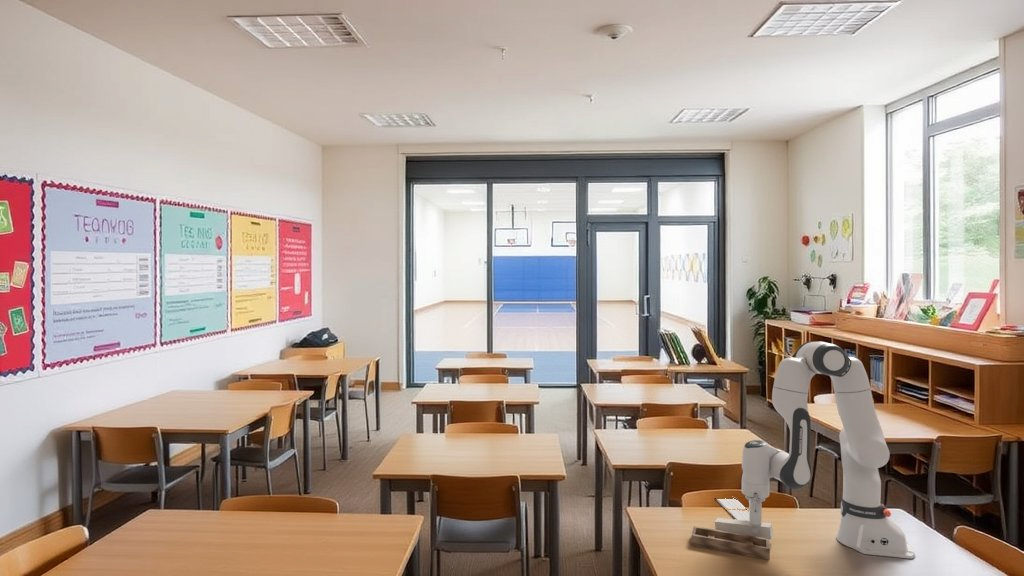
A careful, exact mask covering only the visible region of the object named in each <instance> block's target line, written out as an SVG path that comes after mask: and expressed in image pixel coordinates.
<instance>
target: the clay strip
mask: <svg viewBox="0 0 1024 576" xmlns="http://www.w3.org/2000/svg"><path fill="white" fill-rule="evenodd" d="M772 524H773V523H772V522H764V521H762V523H761V526H758V533H753V532H752V525H750V522H749V521H744V520H735V519H734V518H724V517H723V518H722V517H717V518H716V519H715V521H714V527H715V529H714V530H720V531H726V532H732V533H737V534H743V535H749V536H755V537H761V538H767V539H769V540H772V539H773V535H774V533H773V525H772Z"/></svg>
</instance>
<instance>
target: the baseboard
mask: <svg viewBox="0 0 1024 576" xmlns="http://www.w3.org/2000/svg"><path fill="white" fill-rule="evenodd" d="M734 498H735V497H734ZM734 498H733V499H726V498H725V499H717V500H716V502H717V503H718V504H719V505H720V506H721V507H722V508H723V509H724V508H728V509H731V510H728V511H729V512H730V514H731V515H732V516H733V517H734V518H735V519H736V520H744V521H749V512H748V511H747V510H748V509H747V510H745V511H742V510H740V511H739V510H737V508H738V509H745V508H746V507H745V505H743V504H742V503H741V502H740V501H739V499H737V498H736V499H737V500H736V499H734ZM732 509H736V510H732ZM730 514H729V515H730ZM731 515H730V516H731ZM732 516H731V517H732ZM733 517H732V518H733ZM734 518H733V519H734Z"/></svg>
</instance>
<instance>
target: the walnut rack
mask: <svg viewBox="0 0 1024 576" xmlns="http://www.w3.org/2000/svg"><path fill="white" fill-rule="evenodd" d="M690 537H691V538H690V539H691V540H690V541H691V543H690V546H691V547H698V548H704V549H708V550H715V551H719V552H723V553H729V552H730V554H736V555H740V554H741V555H742V556H747V557H750V558H757V559H763V560H767V561H769V560H770V559H771V558H770V556H771V555H770V553H771V549H770V548H771V546H770V545H771V544H770V543H771V542H770V539H767V538H761V537H755V536H749V535H743V534H737V533H732V532H726V531H720V530H716V529H712V528H707V527H700V526H695V525H693V528H692V531H691V536H690Z"/></svg>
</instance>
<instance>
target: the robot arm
mask: <svg viewBox="0 0 1024 576" xmlns="http://www.w3.org/2000/svg"><path fill="white" fill-rule="evenodd" d="M816 374H818V375H824V376H828V377H830V379H831V382H832V387H833V393H834V399H835V403H836V408H837V412H838V416H839V418H840V421H841V423H842V425H843V426H842V429H841V430H840V432H839V434H838V435H839V436H838V438H839V444H840V456H841V457H840V459H841V466H842V472H843V473H842V475H843V477H842V479H843V485H842V497H841V501H840V515H841V518H840V524H839V528H838V531H837V534H836V536H835V538H836V540H837V541H838V542H840V544H842V545H844V546H846V547H848V548H851V549H853V550H855V551H857V552H859V553H861V554H864V555H870V556H871V555H872V556H881V557H882V556H883V557H890V558H891V557H892V558H899V559H900V558H902V559H914V558H915V556H916V554H915V550H914V548H913V547H912V545H911V544H910V543H909V542H908V541H907V538H906V534H905V532H904V531H903V529H902V528H901V526H899V525H898V524H897V523H895V522H894V521H893V520H892V519H891V518H890V517H891V516H892V513H891V510H889V509H888V508H887V507H886V505H884V504H883V503H881V495H882V493H881V492H882V480H881V477H880V472H879V468H882V467H884V466H885V465H886V464H887V463H888V462H889V461H890V455H891V452H890V450H889V447H888V445H887V442H886V439H885V435H884V432H883V429H882V425H881V423H880V421H879V419H878V415H877V412H876V408H875V403H874V398H873V393H872V389H871V383H870V381H869V376H868V373H867V371H866V369H865V367H864V364H863V362H862V361H861V360H860V359H859V358H856V357H853V356H849V355H848V354H847V353H846V351H845V350H844V349H843V348H841V347H840V346H838V345H837V344H834V343H829V342H825V341H813V340H812V341H805V342H804V343H802V344H800V346H798V347H797V348H796V350H795V353H794V354H792V356H791V357H785V358H783V359H782V360H780V362H779V364H778V366H777V369H776V373H775V376H774V381H773V386H772V392H771V401H772V402H771V403H772V405H773V407H774V409H775V410H776V412H777V413H778V414H779V415H781V417H782V419H784V421H785V422H786V424H787V426H788V428H789V448H788V449H789V451H788V452H786V451H785V450H782V449H780V448H777V447H774V446H771V445H770V444H768V442H767V441H764V440H761V439H758V440H757V439H754V440H750V441H747V442H745V444H744V446H743V448H742V454H741V469H742V476H741V493H742V495H744V496H745V499H746V500H748V504H749V505H748V510H749V522H750V525H752V532H753V533H758V526H761V523H762V522H763V521H762V519H763V518H762V517H763V515H762V513H763V512H762V510H763V509H762V505H763V504H762V502H765V501H766V499H767V498H769V497H770V480H771V479H772V478H774V479H776V480H778V481H779V482H782V484H784V486H787V487H788V488H790V489H791V490H794V491H795V490H801V489H804V488H806V487H807V486H808V484H809V483H810V482H811V481H812V478H813V468H812V464H811V436H812V435H811V433H812V432H811V430H812V429H811V426H812V424H811V416H810V413H809V408H808V398H809V390H810V383H811V382H812V381H811V380H812V378H814V377H815V375H816Z"/></svg>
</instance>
